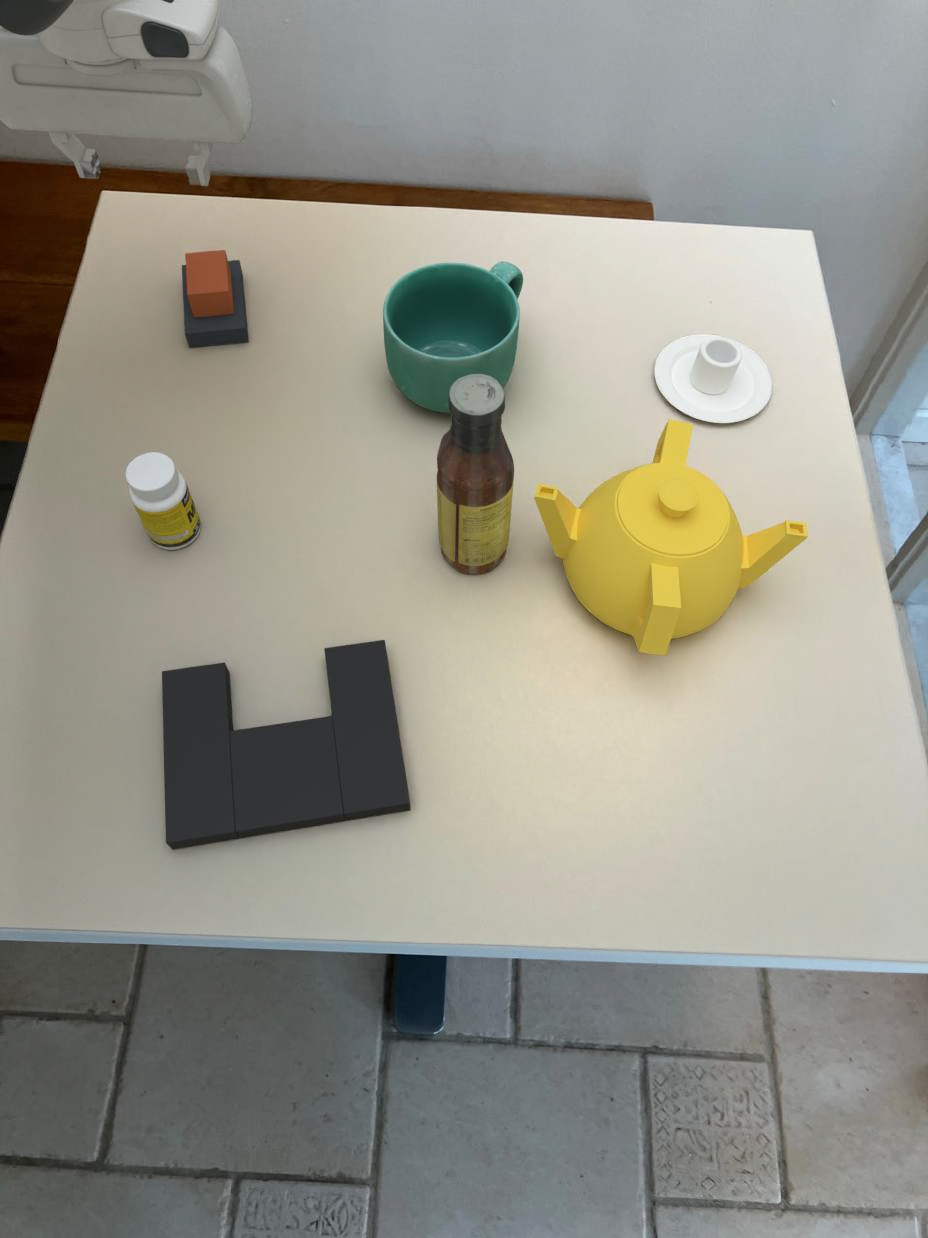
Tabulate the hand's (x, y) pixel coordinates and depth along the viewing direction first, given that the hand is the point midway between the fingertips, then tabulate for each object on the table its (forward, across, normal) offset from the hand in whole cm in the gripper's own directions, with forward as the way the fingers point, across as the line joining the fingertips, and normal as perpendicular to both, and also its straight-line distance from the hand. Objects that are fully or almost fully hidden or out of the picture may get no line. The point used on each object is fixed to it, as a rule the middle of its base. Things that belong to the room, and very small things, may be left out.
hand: (146, 177), depth 76 cm
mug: (+17, +28, -4) cm, 33 cm away
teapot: (+17, +46, -26) cm, 56 cm away
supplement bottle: (+17, +3, -25) cm, 30 cm away
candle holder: (+18, +54, -3) cm, 56 cm away
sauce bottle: (+17, +30, -25) cm, 43 cm away
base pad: (+17, +16, -44) cm, 50 cm away
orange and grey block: (+17, +2, +3) cm, 17 cm away
